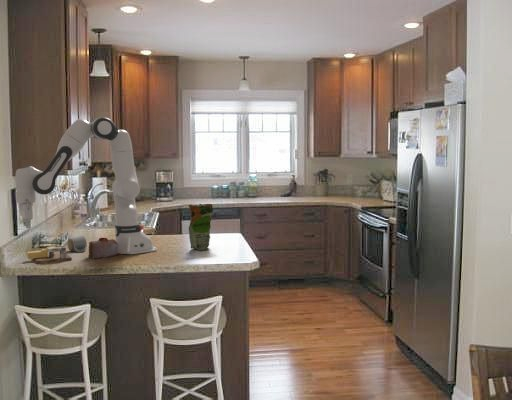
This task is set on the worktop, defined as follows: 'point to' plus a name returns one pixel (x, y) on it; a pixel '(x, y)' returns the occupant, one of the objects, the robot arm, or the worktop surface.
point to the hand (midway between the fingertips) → (26, 226)
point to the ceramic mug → (77, 244)
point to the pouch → (200, 226)
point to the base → (54, 256)
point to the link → (38, 253)
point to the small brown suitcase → (103, 248)
